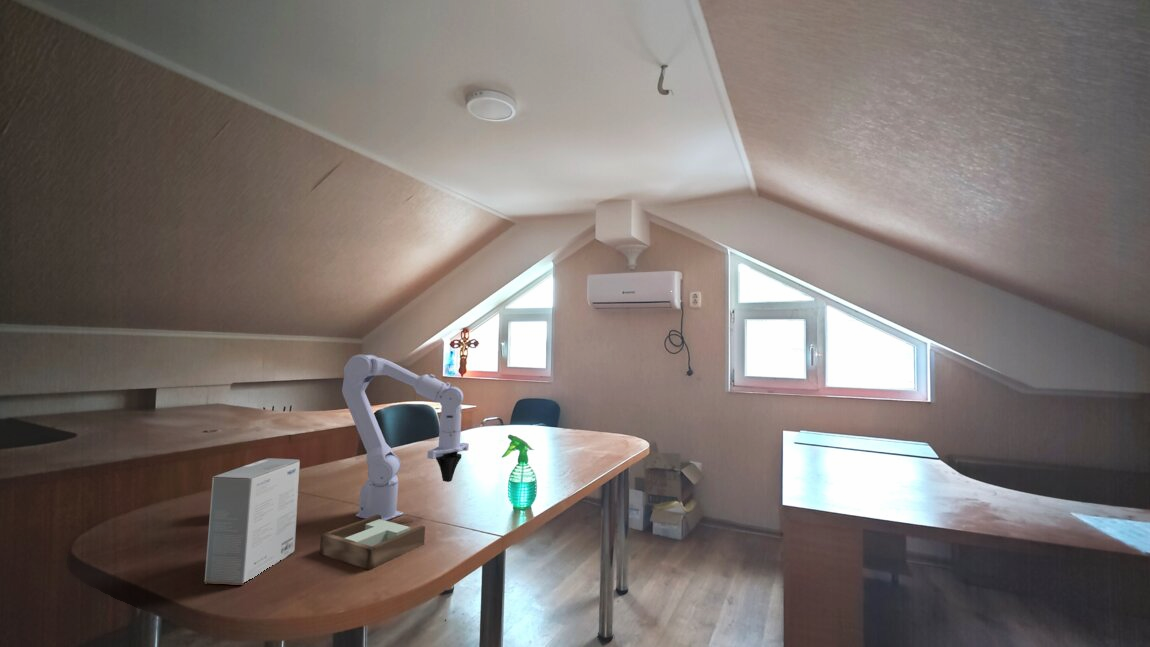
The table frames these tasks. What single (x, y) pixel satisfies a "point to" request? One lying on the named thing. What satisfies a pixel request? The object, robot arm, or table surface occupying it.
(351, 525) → the wooden tray
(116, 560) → the table surface
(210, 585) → the table surface
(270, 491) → the hard drive box
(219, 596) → the table surface
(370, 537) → the t block
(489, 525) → the table surface
